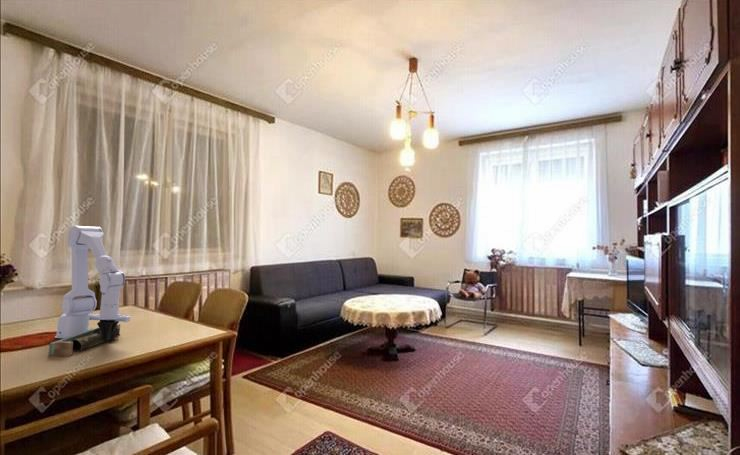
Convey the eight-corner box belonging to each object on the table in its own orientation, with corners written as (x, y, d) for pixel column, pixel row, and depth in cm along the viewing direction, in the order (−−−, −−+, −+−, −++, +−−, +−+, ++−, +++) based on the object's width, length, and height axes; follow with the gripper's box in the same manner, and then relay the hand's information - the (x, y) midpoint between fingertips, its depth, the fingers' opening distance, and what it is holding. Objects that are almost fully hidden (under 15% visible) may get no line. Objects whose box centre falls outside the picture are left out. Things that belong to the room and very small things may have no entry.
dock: (48, 355, 122) (49, 341, 122) (103, 333, 149) (104, 323, 149) (68, 356, 122) (69, 343, 122) (119, 334, 149) (120, 323, 149)
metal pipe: (80, 352, 127) (81, 336, 127) (64, 350, 128) (65, 334, 128) (122, 339, 144) (123, 325, 144) (107, 337, 145) (108, 323, 145)
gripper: (82, 304, 132) (78, 341, 131) (123, 307, 133) (119, 344, 132) (95, 301, 139) (92, 336, 138) (134, 303, 140) (131, 338, 139)
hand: (106, 339), depth 136 cm, fingers closed
